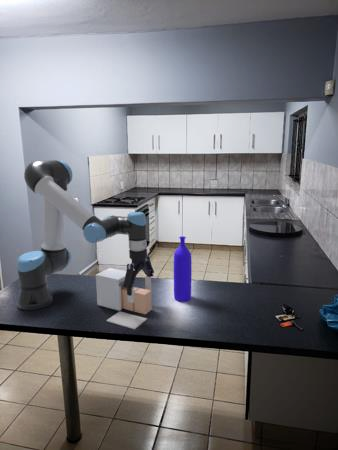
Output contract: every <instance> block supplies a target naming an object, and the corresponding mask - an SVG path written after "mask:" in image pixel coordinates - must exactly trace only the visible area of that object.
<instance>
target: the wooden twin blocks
mask: <svg viewBox="0 0 338 450" xmlns="http://www.w3.org/2000/svg"><path fill="white" fill-rule="evenodd" d="M133 287H134V303H132V302H128V295H127V288H124V287H123V285H122V286H121V301H122V310H123V309H124V310H126V311H127V310H128V311H131V312H135V313H139V314H141V315H147V314H148V313H149V312H150V311H152V310H153V309H152V307H153V306H152V290H151V291H150V290H146V289H145V288H141V287H136V286H133Z"/></svg>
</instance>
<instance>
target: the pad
mask: <svg viewBox="0 0 338 450" xmlns="http://www.w3.org/2000/svg"><path fill="white" fill-rule="evenodd" d="M147 320H148V318H147V317H142V316H140V315H139V316H138V315H136V314H131V313H127V312H123V311H121V310H120V311H119V310H118V312H117V313H115V314H113V315H112V316H111V317H109V318H107V319H106V322H108V323H112V324H115V325H118V326H121V327H125V328H129V329H132V330H136V329H137V328H138V327H140V326H141V325H142V324H143V323H144V322H146V321H147Z"/></svg>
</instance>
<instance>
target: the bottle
mask: <svg viewBox="0 0 338 450" xmlns="http://www.w3.org/2000/svg"><path fill="white" fill-rule="evenodd" d="M186 238H187V237H186V236H179V237H178V239H180V240H179V242H180V243H179V247H177V249H176V250H175V251H174V253H173V296H174V297H173V298H174V300H175V301H177V302H179V303H180V302H181V303H185V302H189V301H190V300H191V299H192V253H191V251H190V249H188V248H187V247H186Z"/></svg>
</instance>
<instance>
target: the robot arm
mask: <svg viewBox="0 0 338 450" xmlns="http://www.w3.org/2000/svg"><path fill="white" fill-rule="evenodd" d="M23 177H24V178H23V179H24V182H25V184H26V185H27V187H28V188H29V189H30V190H31V191H32V192H33V193H34V194H36V195H37V196H42V197H43V199H44V200H43V213H44V214H43V217H44V218H43V220H44V221H43V223H44V224H43V225H44V226H43V227H44V228H43V229H44V230H43V231H44V233H43V234H44V235H43V237H44V241H43V243H42V244H41V245H40V250H32V251H28V252H26V253H23V254H21V255H20V256H18V257H17V261H16V262H17V266H16V269H17V275H18V282H19V292H18V293H19V294H18V297H17V302H16V304H17V308H18V309H20V310H22V311H35V310H36V311H37V310H40V309H43V308H45V307H46V308H47V307H48V306H50V305H51V304H52V303H53V301H54V299H53V294H52V292H51V291H50V289H49V286H48V279H47V278H48V277H50V276H52V275H54V274H56V273H58V272H61V271H63V270H64V269H67V267H69V266H70V264H71V261H72V253H71V252H70V249H69V248H68V247H67V244H66V243H65V242H64V216H65V217H67V218H68V219H69V220H70V221H72V222H73V223H74V224H75V225H76V226H77V227H79V228H80V229H81V230H82V231H83V232H82V233H83V237H84V238H85V240H86V242H88V243H91V244H96V243H100V242H103V241H104V240H106V239H108V238H109V239H110V238H111V237H114V236H116V235H125V236H127V235H128V249H129V250H128V253H129V259H130V261H131V263H127V264H126V270H125V271H126V275H125V280H124V284H123V287H124V288H127V295H128V302H132V303H134V287H135V286H134V283H135V281H136V278H137V274H139V272H140V271H141V270H142V272H143V274H145V277H144V283H145V284H144V286H145V288H144V289H146V290H150V291H151V292H152V277H154V273H155V271H154V267H153V265H152V263H151V260H150V255H148V249H147V247H148V245H147V220H146V219H147V218H146V214H145V213H144V212H142V211H131V212H128V214H127V216H121V215H120V216H117V215H107V216H106V215H105V216H104V217H103V219H102V220H101V219H100V218H99V217H97V216H96V215H95V214H93V212H91V211H90V210H88V209H87V208H86V207H85V206H84V205H83V204H81V203H80V202H79V201H78V200H76V199H75V198H74V197H73V196H72V195H70V193H68V192H67V191H68V185H69V184H70V183H71V182H72V180H73V171H72V168H71V167H70V165H69V164H68V163H67V162H65V161H64V160H61V159H60V160H58V159H49V160H35V161H32V162H31V163H29V164H28V165H27V166H26V167H25V169H24V175H23Z"/></svg>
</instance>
